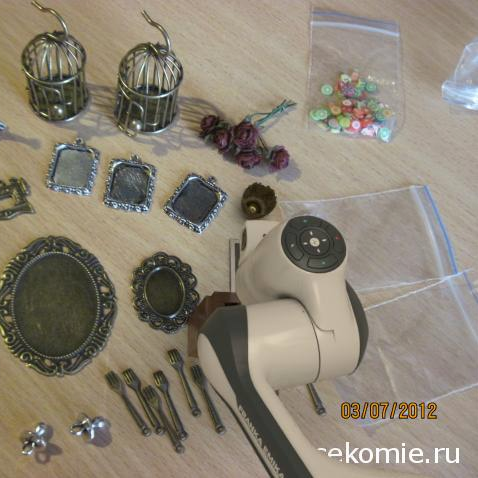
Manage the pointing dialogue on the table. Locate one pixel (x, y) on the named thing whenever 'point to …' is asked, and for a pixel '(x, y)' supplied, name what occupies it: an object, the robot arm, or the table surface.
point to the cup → (258, 201)
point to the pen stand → (207, 315)
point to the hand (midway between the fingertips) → (244, 305)
